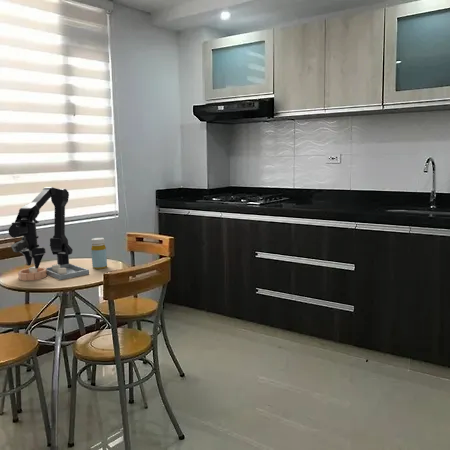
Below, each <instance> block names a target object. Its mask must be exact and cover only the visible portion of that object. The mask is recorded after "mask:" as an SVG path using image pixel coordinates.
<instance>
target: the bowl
mask: <svg viewBox="0 0 450 450" xmlns="http://www.w3.org/2000/svg"><path fill="white" fill-rule="evenodd" d="M46 268H47V267H40V266H39V267H38V268H37V271H38V272H35V273H29V267H28V268H23V269H21V270H19V271H18V273H17V274H18V279H19V280H20V281H35V280H37V281H38V280H41V279H43V278H46V277H47V276H48V275H47V269H46Z"/></svg>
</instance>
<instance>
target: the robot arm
mask: <svg viewBox="0 0 450 450" xmlns="http://www.w3.org/2000/svg"><path fill="white" fill-rule="evenodd" d="M69 196H70V192H69V191H68V190H67V189H66V188H56V187H53V186H45V187H43V189H42V190H41V192H40V193H39V194H38V195H37V196H35V198H34V199H33V200H32V201H31V202H30V203H27V204H26V205H25V204H24V205H23V206H22V207H20V208H19V210H18V213H17V216H16V217H15V221H13V222H11V225H10V226H9V228H8V231H7V232H8V234H9V236H10V237H11V238H13V239H15V238H16V239H17V238H19V237H20V238H21V240H19V241H17V242H15V243H13V244H11V245H10V247H11V249H12V251H13V253H20V254H22V255H23V257H24V260H25V262H26V264H27V266H28V267H29V266H30V267H31V266H32V265H31V264H32V261H33V264H34V267H35V268H36V269H37V268H38V267H40V264H41V262H42V260H43V258H44V255H45V254H46V253H47V252H46V248H45V247H44V246H40V244H38V239H39V235H37V224H39V221H38V220H37V218H38V216H39V214H40V210H41V208H42V207H43V206H44V205H45V204H46V203H47V202H48V201H49V200H51V203H52V204H53V206H54V216H53V217H54V223H53V224H54V230H53V231H54V233H53V234H54V235H53V236H52V237H50V238H49V247H50V251H51V254H52V255H54V256H55V255H56V261H57V263H56V264H59V265H65V264H70V258H69V257H70V256H69V255H72V254H73V247H71V246H70V245H69V239H68V238H67V236H66V233H65V232H66V227H65V226H66V224H65V222H66V217H65V216H66V206H67V204H68V202H69V198H70V197H69Z"/></svg>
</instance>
